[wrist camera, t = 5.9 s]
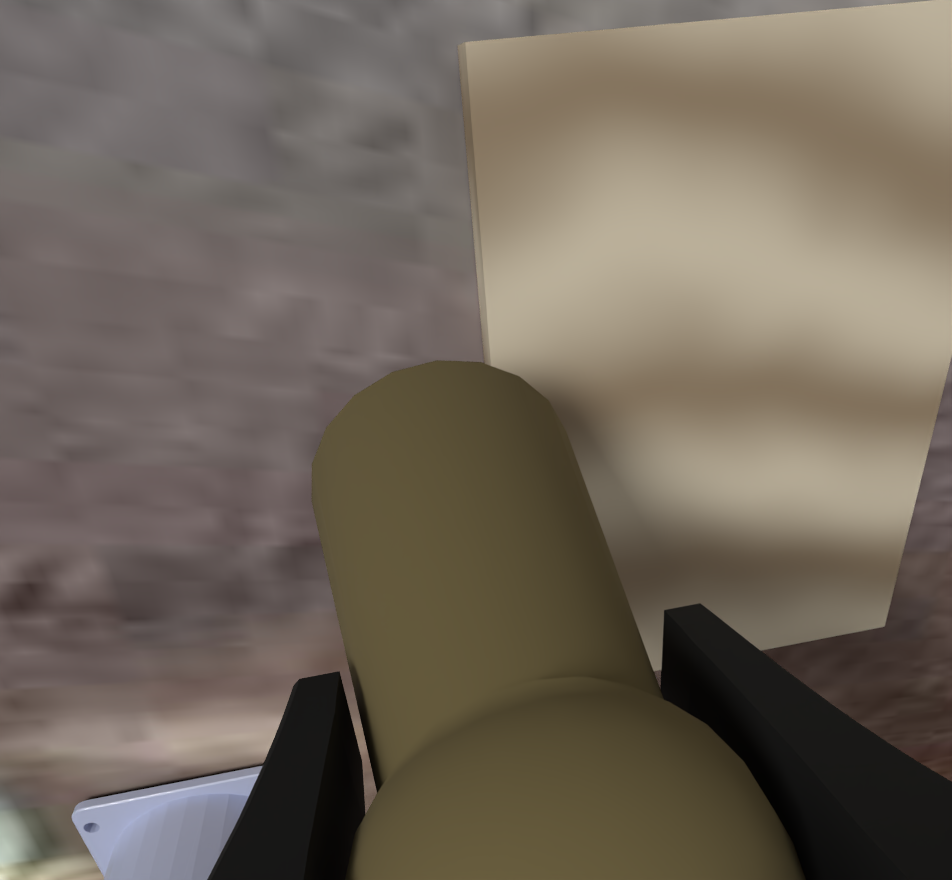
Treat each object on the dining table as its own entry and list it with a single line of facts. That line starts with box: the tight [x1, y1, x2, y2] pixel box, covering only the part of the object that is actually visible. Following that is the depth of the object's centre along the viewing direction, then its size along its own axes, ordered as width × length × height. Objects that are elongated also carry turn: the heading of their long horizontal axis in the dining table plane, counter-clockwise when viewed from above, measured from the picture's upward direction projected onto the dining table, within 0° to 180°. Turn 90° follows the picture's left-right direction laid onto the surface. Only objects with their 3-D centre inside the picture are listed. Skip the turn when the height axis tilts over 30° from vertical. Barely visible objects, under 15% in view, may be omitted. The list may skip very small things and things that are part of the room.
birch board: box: [458, 0, 952, 671], centre depth 21 cm, size 20×14×1 cm
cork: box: [312, 361, 806, 880], centre depth 11 cm, size 6×6×11 cm
